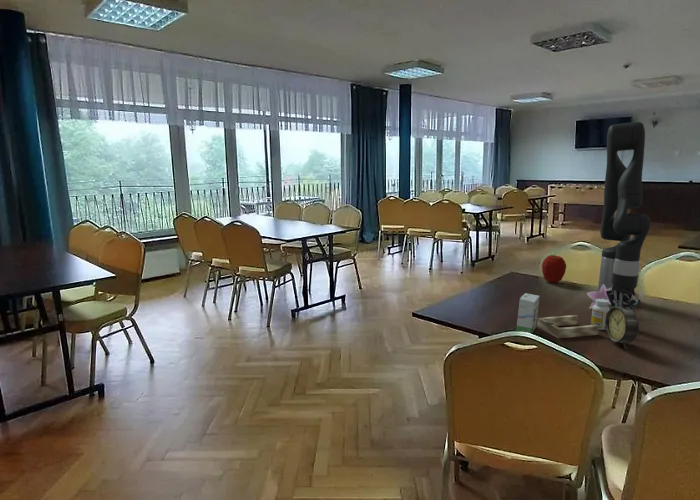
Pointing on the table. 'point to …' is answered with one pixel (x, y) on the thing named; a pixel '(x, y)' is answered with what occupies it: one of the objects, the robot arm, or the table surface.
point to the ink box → (528, 313)
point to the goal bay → (552, 322)
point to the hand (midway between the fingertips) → (619, 320)
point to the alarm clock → (622, 324)
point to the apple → (553, 268)
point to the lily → (598, 295)
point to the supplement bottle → (600, 313)
